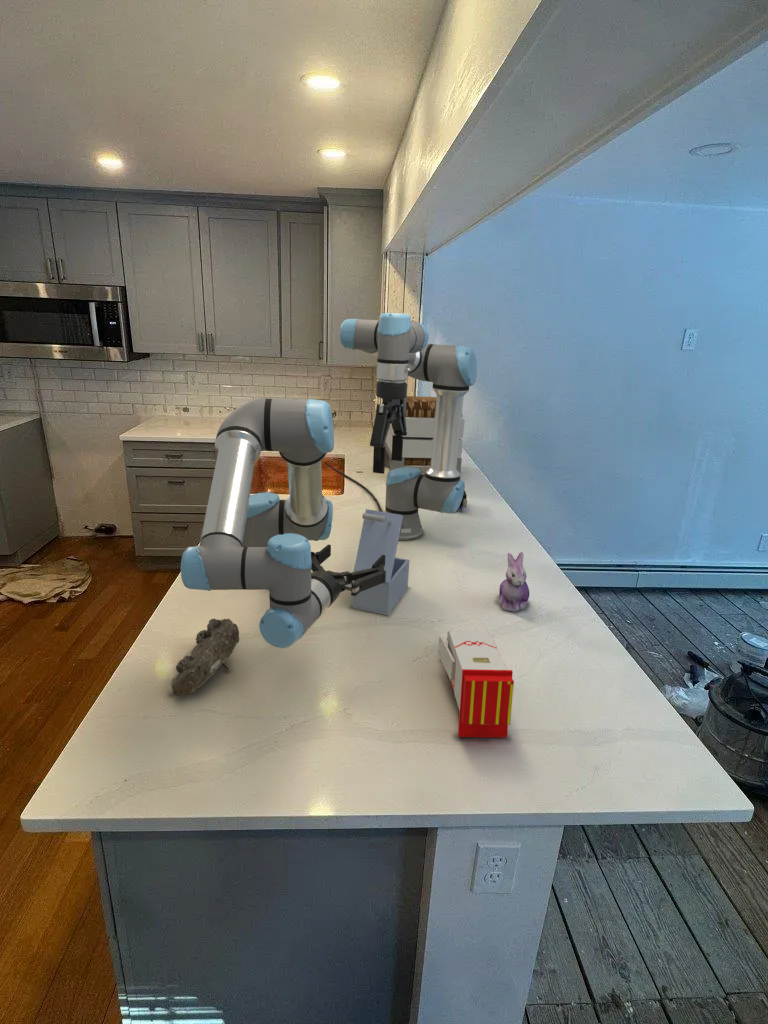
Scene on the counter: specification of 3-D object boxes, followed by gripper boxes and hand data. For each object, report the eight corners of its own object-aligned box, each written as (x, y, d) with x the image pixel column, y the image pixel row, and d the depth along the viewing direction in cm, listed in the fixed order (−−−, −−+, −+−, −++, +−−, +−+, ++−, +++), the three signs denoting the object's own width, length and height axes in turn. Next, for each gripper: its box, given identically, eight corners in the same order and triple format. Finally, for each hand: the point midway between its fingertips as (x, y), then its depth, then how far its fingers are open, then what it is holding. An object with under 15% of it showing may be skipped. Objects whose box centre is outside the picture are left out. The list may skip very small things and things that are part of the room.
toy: (488, 613, 130) (523, 677, 101) (484, 667, 133) (517, 744, 104) (435, 612, 130) (455, 676, 101) (432, 666, 133) (451, 743, 103)
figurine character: (467, 516, 223) (461, 500, 237) (469, 499, 220) (463, 483, 233) (450, 516, 223) (446, 499, 236) (452, 498, 220) (447, 483, 233)
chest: (375, 581, 165) (376, 553, 162) (407, 587, 162) (409, 559, 159) (352, 607, 150) (353, 577, 147) (387, 615, 146) (389, 585, 143)
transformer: (382, 463, 289) (386, 382, 275) (445, 464, 293) (451, 384, 279) (390, 482, 257) (394, 392, 243) (460, 483, 261) (468, 394, 247)
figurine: (511, 616, 149) (518, 564, 143) (487, 598, 157) (493, 549, 152) (539, 609, 153) (547, 558, 148) (514, 592, 161) (521, 544, 156)
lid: (367, 509, 149) (356, 504, 140) (403, 515, 146) (394, 510, 137) (354, 575, 147) (342, 574, 139) (390, 583, 144) (380, 581, 136)
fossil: (193, 621, 132) (239, 591, 127) (222, 649, 135) (268, 620, 130) (150, 689, 112) (202, 656, 107) (184, 719, 115) (237, 689, 110)
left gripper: (260, 598, 118) (307, 560, 137) (372, 624, 110) (406, 579, 129) (259, 566, 115) (307, 531, 134) (374, 590, 107) (408, 549, 126)
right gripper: (389, 388, 124) (385, 480, 131) (421, 377, 146) (416, 457, 153) (357, 385, 126) (355, 476, 134) (394, 375, 149) (390, 453, 156)
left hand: (356, 554), depth 132 cm, fingers open, 13 cm apart
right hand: (387, 466), depth 143 cm, fingers open, 13 cm apart
